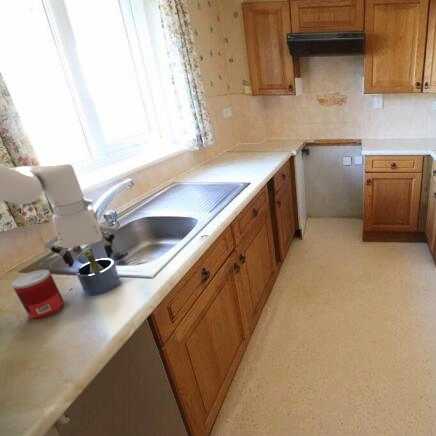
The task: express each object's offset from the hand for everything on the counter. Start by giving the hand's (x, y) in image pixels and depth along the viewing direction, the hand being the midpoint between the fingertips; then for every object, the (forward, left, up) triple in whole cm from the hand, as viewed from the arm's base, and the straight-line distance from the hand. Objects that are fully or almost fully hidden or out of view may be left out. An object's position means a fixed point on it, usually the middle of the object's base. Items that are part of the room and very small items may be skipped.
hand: (91, 260), depth 96 cm
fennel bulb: (0, 0, -9) cm, 9 cm away
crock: (0, 0, -10) cm, 10 cm away
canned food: (-13, -5, -10) cm, 17 cm away
